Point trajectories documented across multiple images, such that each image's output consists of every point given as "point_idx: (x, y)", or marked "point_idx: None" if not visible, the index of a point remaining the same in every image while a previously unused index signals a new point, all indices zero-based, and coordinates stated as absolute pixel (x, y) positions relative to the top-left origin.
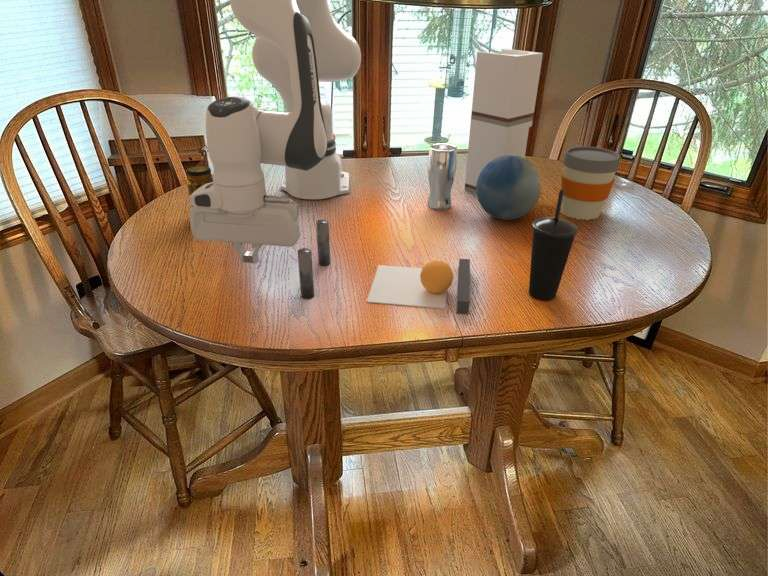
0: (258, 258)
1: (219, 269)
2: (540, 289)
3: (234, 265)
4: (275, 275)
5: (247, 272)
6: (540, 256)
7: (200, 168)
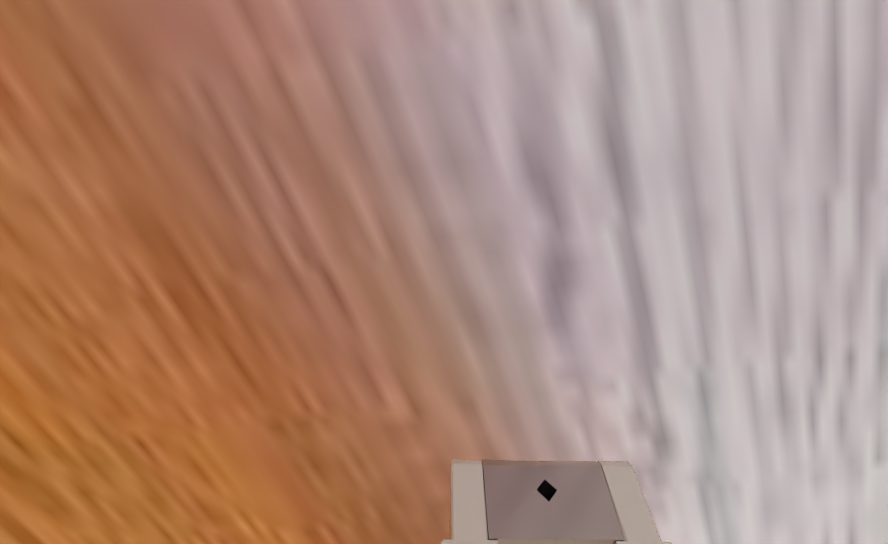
0: (633, 475)
1: (192, 387)
2: None
3: (293, 299)
4: (753, 416)
5: (478, 402)
6: None
7: None
